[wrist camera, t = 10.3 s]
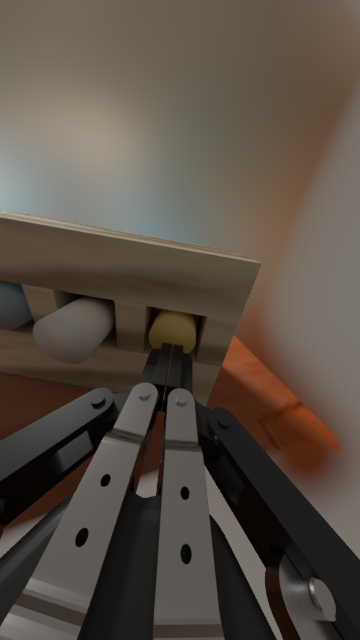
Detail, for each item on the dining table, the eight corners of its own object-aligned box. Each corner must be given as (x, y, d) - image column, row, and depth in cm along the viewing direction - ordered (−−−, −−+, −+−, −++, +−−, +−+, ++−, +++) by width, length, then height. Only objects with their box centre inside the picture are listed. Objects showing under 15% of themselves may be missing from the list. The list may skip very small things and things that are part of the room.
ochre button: (190, 361, 14) (200, 323, 12) (147, 353, 14) (150, 315, 12) (191, 331, 19) (198, 300, 17) (158, 325, 19) (161, 293, 17)
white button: (93, 367, 12) (86, 323, 10) (41, 359, 12) (24, 312, 10) (120, 332, 16) (119, 296, 14) (82, 325, 16) (76, 289, 14)
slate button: (27, 332, 14) (11, 290, 12) (-16, 325, 14) (-40, 281, 12) (67, 309, 19) (59, 275, 17) (33, 303, 19) (22, 269, 17)
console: (205, 407, 18) (261, 263, 10) (-10, 370, 18) (-117, 196, 10) (201, 351, 27) (230, 250, 19) (57, 325, 27) (27, 214, 19)
